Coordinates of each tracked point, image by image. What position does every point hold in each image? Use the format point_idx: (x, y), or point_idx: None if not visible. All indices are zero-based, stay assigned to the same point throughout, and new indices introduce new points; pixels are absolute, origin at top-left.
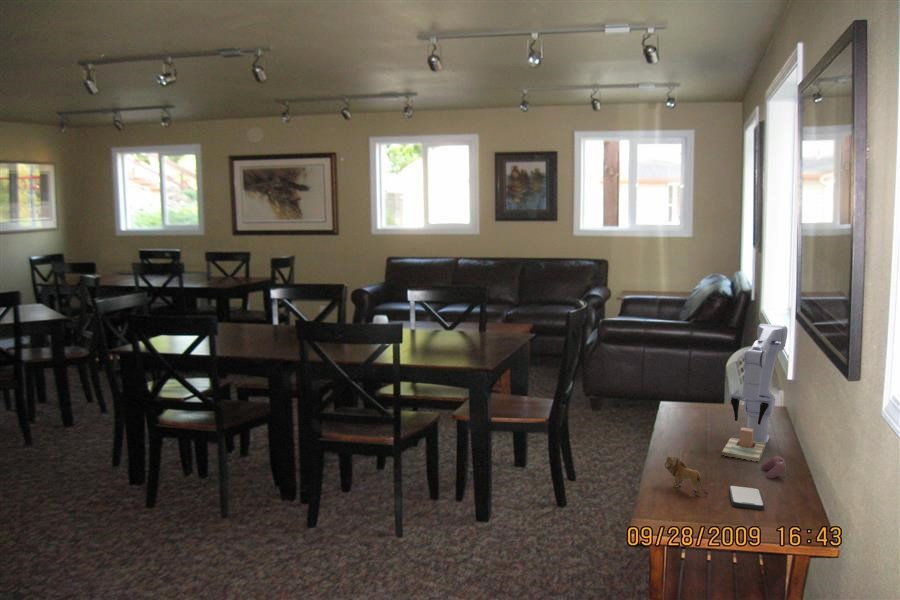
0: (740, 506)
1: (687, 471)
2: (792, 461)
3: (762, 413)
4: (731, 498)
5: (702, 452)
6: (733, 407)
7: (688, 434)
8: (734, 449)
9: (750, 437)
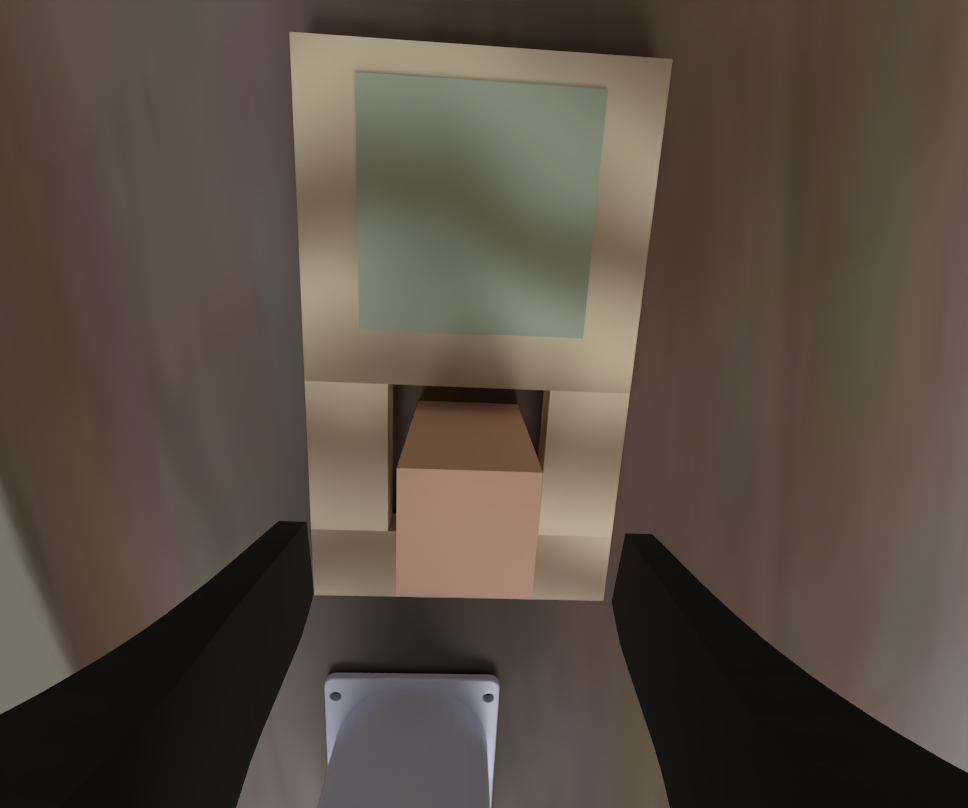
0: None
1: None
2: (34, 259)
3: (128, 649)
4: None
5: (831, 108)
6: (833, 696)
7: (909, 610)
8: (553, 214)
9: (419, 441)
